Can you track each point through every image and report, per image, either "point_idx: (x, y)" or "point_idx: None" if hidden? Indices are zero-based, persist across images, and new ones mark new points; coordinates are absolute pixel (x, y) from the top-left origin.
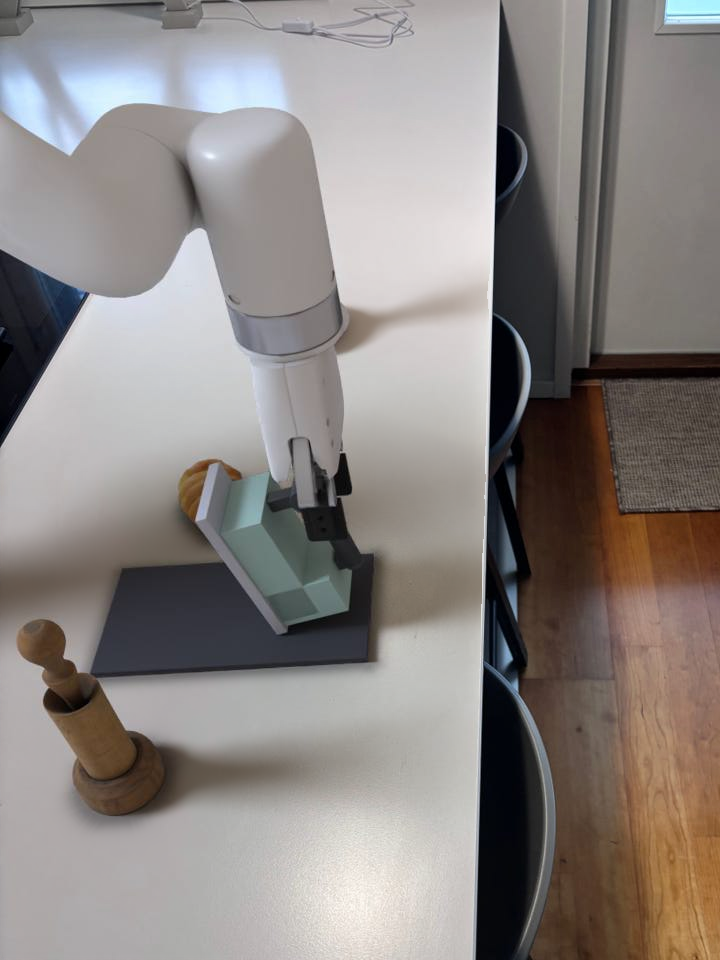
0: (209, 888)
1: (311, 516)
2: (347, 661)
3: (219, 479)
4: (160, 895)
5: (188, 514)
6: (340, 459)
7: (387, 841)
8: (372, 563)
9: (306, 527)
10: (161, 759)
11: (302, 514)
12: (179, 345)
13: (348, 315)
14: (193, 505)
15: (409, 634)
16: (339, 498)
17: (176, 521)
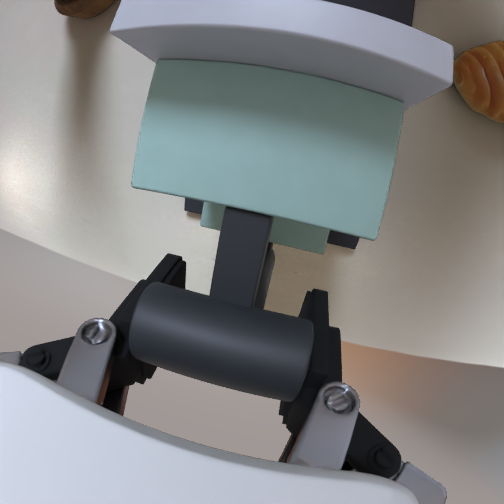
0: (19, 83)
1: (113, 315)
2: None
3: (364, 61)
4: (21, 52)
5: (493, 42)
6: (280, 414)
7: (39, 200)
8: (337, 244)
9: (153, 273)
10: (98, 11)
11: (135, 295)
12: None
13: None
14: (502, 51)
15: None
16: (139, 381)
17: (494, 31)
